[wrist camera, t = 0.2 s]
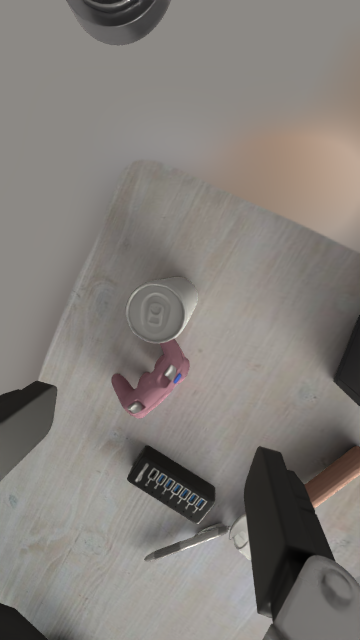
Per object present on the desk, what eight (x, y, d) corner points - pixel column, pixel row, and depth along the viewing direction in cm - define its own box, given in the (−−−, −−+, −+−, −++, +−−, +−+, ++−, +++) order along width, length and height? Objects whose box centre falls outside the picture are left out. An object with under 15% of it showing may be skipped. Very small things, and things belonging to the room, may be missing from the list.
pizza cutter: (340, 426, 32) (353, 441, 29) (375, 459, 32) (392, 477, 29) (221, 521, 36) (222, 543, 33) (253, 550, 36) (257, 575, 33)
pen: (231, 524, 36) (232, 534, 35) (147, 555, 39) (145, 566, 38) (227, 518, 36) (228, 528, 35) (144, 550, 39) (141, 560, 38)
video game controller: (136, 390, 36) (141, 433, 30) (108, 375, 34) (107, 419, 28) (186, 340, 34) (201, 376, 28) (159, 321, 32) (170, 356, 26)
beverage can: (201, 280, 31) (192, 287, 19) (194, 320, 32) (181, 351, 20) (161, 273, 31) (127, 275, 19) (155, 313, 32) (119, 338, 20)
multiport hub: (199, 509, 36) (197, 525, 34) (131, 467, 37) (125, 480, 34) (216, 488, 35) (216, 502, 33) (146, 444, 36) (141, 455, 33)
